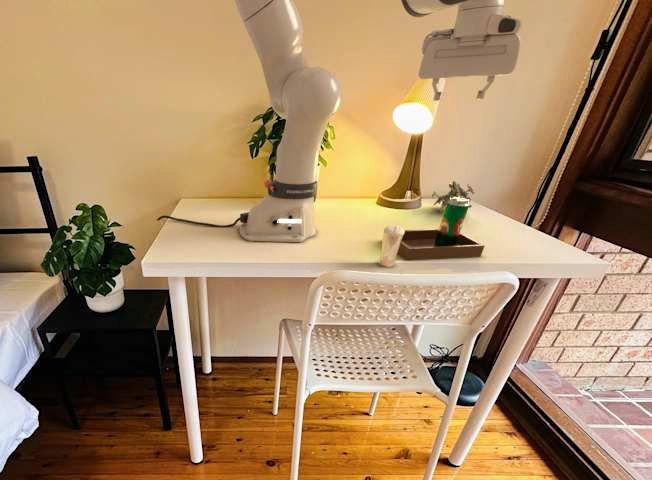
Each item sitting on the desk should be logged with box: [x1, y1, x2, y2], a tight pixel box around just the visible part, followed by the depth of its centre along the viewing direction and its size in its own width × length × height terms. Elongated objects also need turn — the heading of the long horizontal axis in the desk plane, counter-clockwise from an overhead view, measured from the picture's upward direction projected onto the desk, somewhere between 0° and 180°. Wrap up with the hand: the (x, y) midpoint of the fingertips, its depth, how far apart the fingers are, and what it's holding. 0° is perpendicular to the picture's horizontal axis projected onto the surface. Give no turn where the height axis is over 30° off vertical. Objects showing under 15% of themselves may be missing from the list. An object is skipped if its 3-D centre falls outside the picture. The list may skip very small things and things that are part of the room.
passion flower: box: [431, 180, 475, 212], centre depth 124 cm, size 11×11×12 cm
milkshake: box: [378, 225, 405, 268], centre depth 86 cm, size 4×5×10 cm
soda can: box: [435, 197, 470, 247], centre depth 94 cm, size 5×5×12 cm
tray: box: [397, 228, 486, 261], centre depth 97 cm, size 20×14×3 cm
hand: (457, 100), depth 91 cm, fingers open, 8 cm apart
